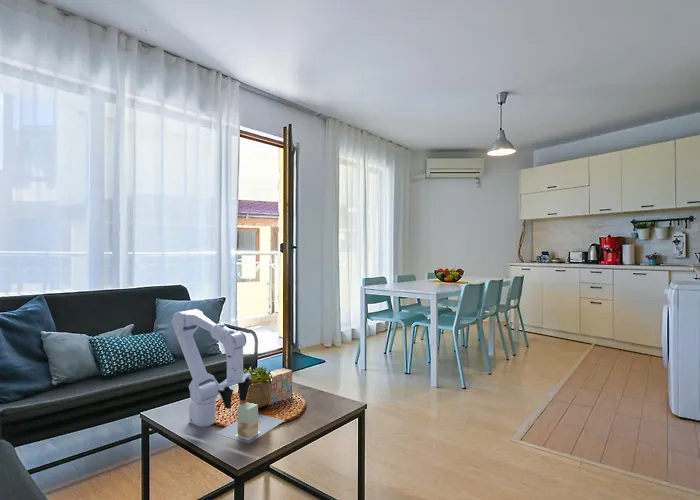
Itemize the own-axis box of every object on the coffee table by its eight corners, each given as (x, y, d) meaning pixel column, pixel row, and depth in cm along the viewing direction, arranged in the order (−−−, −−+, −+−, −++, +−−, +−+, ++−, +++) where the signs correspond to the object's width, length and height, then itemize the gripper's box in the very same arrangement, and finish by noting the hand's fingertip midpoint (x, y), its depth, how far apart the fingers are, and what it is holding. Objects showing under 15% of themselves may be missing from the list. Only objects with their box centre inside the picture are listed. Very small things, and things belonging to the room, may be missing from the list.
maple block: (237, 435, 140) (237, 421, 140) (247, 429, 145) (247, 415, 145) (248, 438, 138) (248, 424, 138) (258, 432, 142) (258, 418, 142)
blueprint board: (214, 435, 142) (214, 432, 142) (252, 414, 160) (252, 412, 160) (249, 445, 135) (249, 443, 135) (285, 422, 152) (285, 420, 152)
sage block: (237, 421, 140) (237, 406, 140) (247, 415, 145) (247, 401, 145) (248, 423, 138) (248, 409, 138) (258, 418, 142) (258, 404, 142)
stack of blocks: (253, 413, 161) (253, 383, 161) (244, 409, 165) (243, 379, 165) (292, 397, 178) (292, 370, 178) (282, 394, 182) (282, 367, 182)
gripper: (228, 373, 136) (229, 413, 136) (257, 362, 148) (257, 399, 148) (213, 370, 139) (213, 409, 139) (242, 360, 152) (243, 395, 152)
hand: (235, 404), depth 144 cm, fingers open, 7 cm apart
